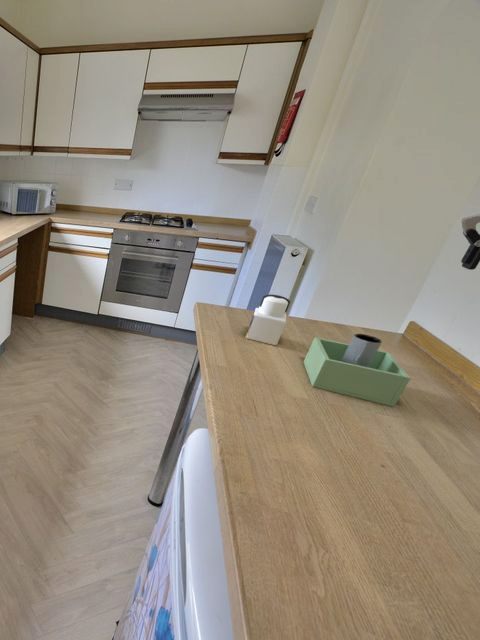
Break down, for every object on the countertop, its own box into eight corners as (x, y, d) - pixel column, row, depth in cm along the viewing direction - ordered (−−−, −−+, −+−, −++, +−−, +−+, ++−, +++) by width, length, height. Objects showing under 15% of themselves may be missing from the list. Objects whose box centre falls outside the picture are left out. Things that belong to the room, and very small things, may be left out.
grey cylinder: (329, 376, 92) (349, 335, 88) (340, 373, 94) (361, 332, 90) (352, 386, 89) (375, 343, 84) (364, 382, 90) (386, 340, 86)
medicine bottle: (247, 330, 117) (262, 290, 112) (277, 337, 113) (293, 296, 108) (245, 338, 112) (260, 297, 107) (276, 346, 108) (294, 303, 103)
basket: (375, 378, 94) (389, 352, 91) (394, 406, 84) (411, 378, 81) (303, 362, 100) (314, 337, 97) (312, 386, 90) (325, 359, 87)
